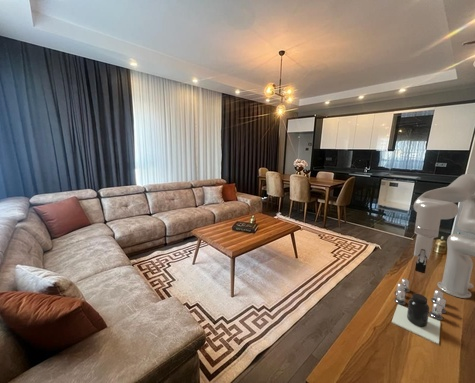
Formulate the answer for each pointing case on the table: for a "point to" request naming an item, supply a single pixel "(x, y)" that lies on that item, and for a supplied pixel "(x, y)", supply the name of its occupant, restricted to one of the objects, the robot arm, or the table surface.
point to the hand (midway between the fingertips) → (420, 267)
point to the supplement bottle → (418, 310)
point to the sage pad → (427, 332)
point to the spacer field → (437, 300)
